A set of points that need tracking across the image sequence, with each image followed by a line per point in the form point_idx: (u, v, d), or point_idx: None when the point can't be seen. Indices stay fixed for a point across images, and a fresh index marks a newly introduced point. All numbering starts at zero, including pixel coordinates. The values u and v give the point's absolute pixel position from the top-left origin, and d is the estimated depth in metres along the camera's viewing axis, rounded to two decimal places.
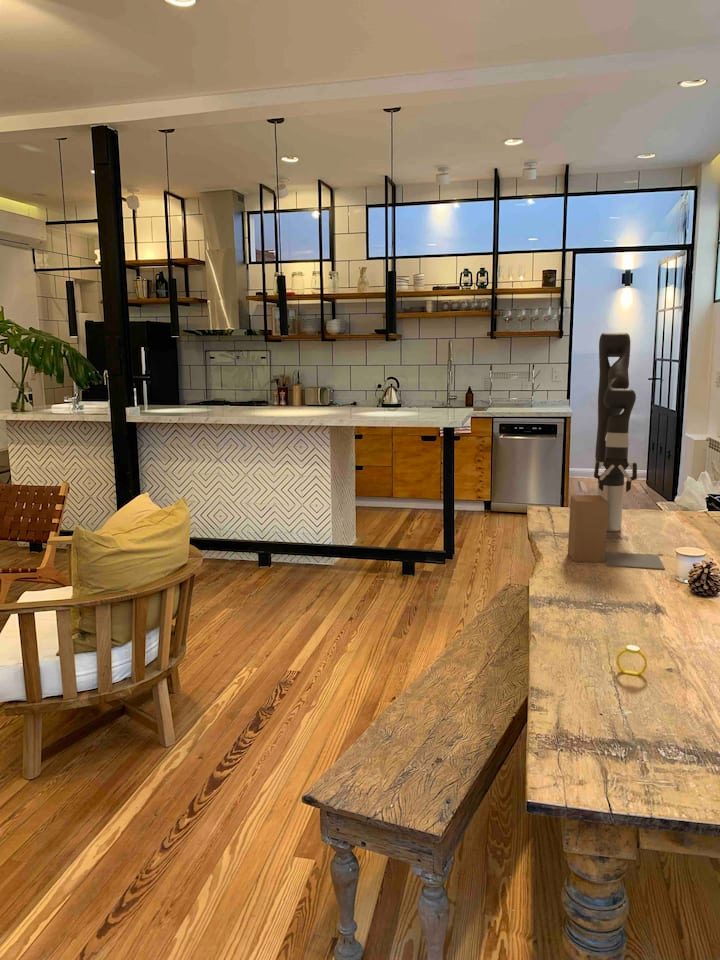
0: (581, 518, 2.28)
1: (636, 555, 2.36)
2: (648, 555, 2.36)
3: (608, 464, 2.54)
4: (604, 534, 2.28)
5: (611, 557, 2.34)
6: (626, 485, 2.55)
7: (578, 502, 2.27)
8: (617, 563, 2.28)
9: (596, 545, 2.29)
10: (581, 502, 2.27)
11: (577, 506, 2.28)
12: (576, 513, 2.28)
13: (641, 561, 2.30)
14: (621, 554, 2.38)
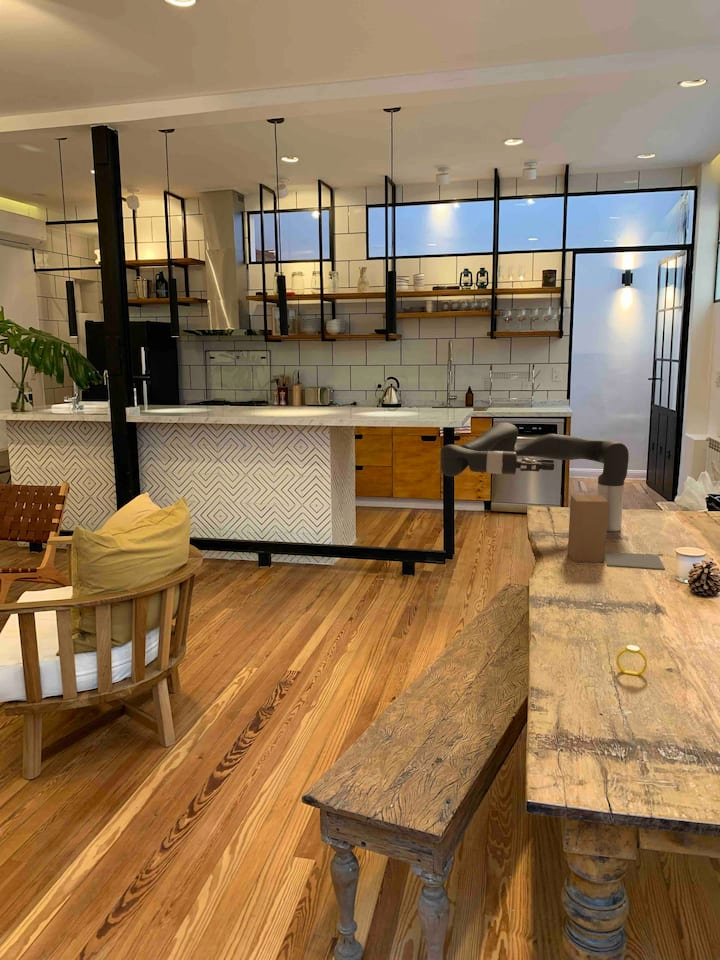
0: (581, 518, 2.28)
1: (636, 555, 2.36)
2: (648, 555, 2.36)
3: (522, 461, 2.32)
4: (604, 534, 2.28)
5: (611, 557, 2.34)
6: (546, 462, 2.36)
7: (578, 502, 2.27)
8: (617, 563, 2.28)
9: (596, 545, 2.29)
10: (581, 502, 2.27)
11: (577, 506, 2.28)
12: (576, 513, 2.28)
13: (641, 561, 2.30)
14: (621, 554, 2.38)
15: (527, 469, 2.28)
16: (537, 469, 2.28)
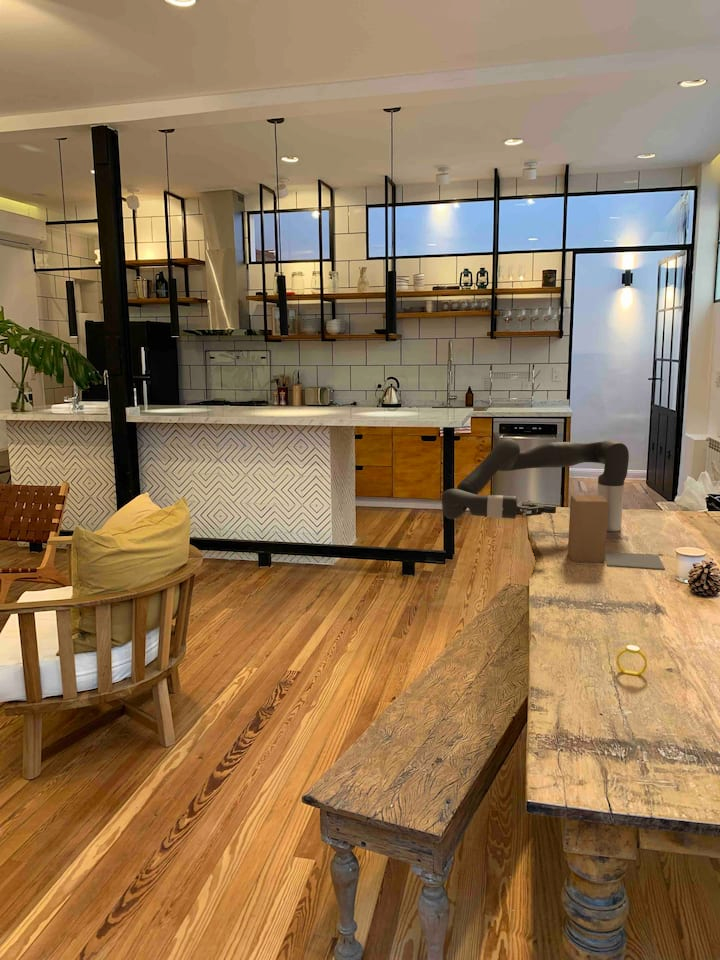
0: (581, 518, 2.28)
1: (636, 555, 2.36)
2: (648, 555, 2.36)
3: (521, 506, 2.35)
4: (604, 534, 2.28)
5: (611, 557, 2.34)
6: None
7: (578, 502, 2.27)
8: (617, 563, 2.28)
9: (596, 545, 2.29)
10: (581, 502, 2.27)
11: (577, 506, 2.28)
12: (576, 513, 2.28)
13: (641, 561, 2.30)
14: (621, 554, 2.38)
15: (532, 514, 2.32)
16: (540, 512, 2.33)
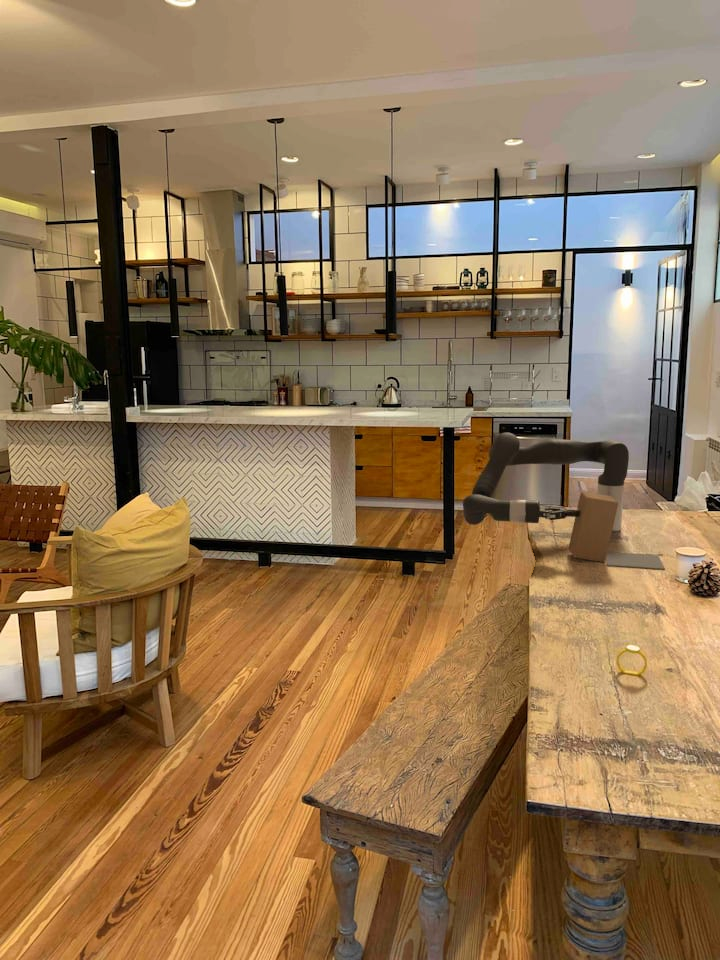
0: (589, 515, 2.28)
1: (636, 555, 2.36)
2: (648, 555, 2.36)
3: (544, 510, 2.32)
4: (609, 534, 2.28)
5: (611, 557, 2.34)
6: None
7: (588, 498, 2.27)
8: (617, 563, 2.28)
9: (599, 544, 2.29)
10: (591, 499, 2.27)
11: (587, 502, 2.27)
12: (585, 509, 2.28)
13: (641, 561, 2.30)
14: (621, 554, 2.38)
15: (556, 518, 2.29)
16: (564, 516, 2.30)
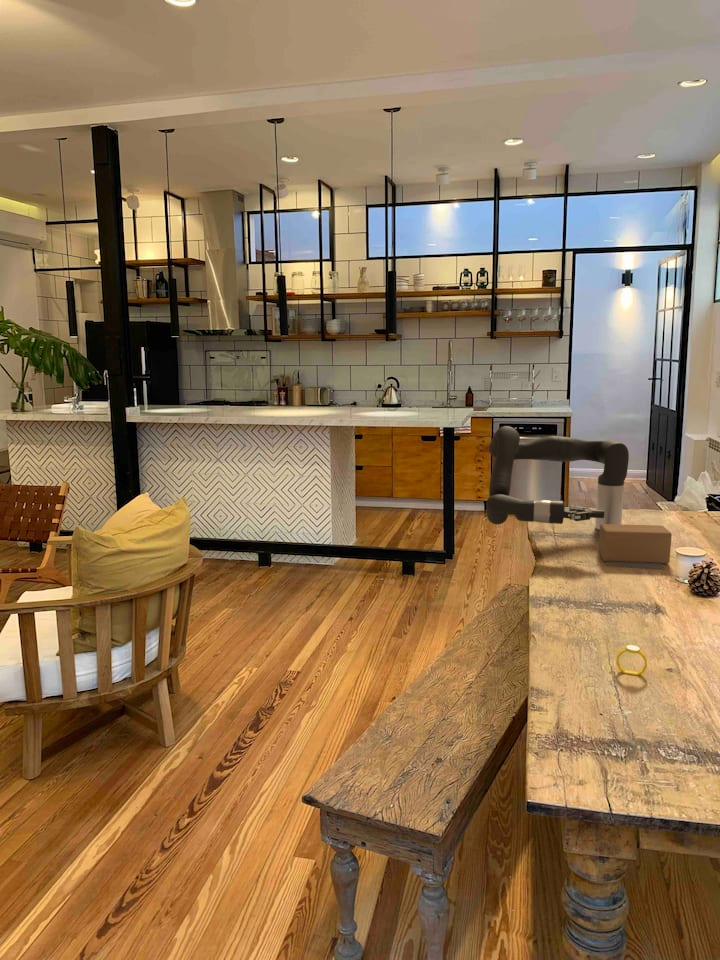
0: (652, 538, 2.27)
1: None
2: None
3: (568, 511, 2.31)
4: (634, 560, 2.29)
5: None
6: None
7: (670, 535, 2.26)
8: (617, 563, 2.28)
9: (623, 553, 2.29)
10: (670, 538, 2.26)
11: (666, 534, 2.26)
12: (658, 533, 2.26)
13: None
14: None
15: (581, 519, 2.28)
16: (589, 517, 2.30)
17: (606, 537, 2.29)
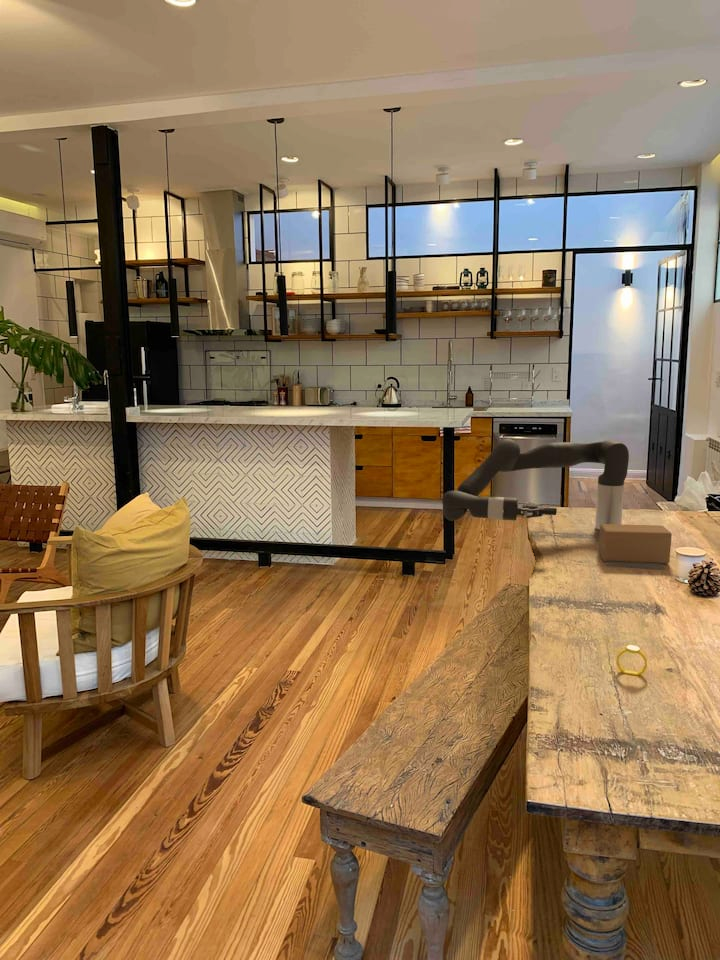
0: (652, 538, 2.27)
1: None
2: None
3: (521, 508, 2.35)
4: (634, 560, 2.29)
5: None
6: None
7: (670, 535, 2.26)
8: (617, 563, 2.28)
9: (623, 553, 2.29)
10: (670, 538, 2.26)
11: (666, 534, 2.26)
12: (658, 533, 2.26)
13: None
14: None
15: (533, 515, 2.32)
16: (541, 514, 2.33)
17: (606, 537, 2.29)
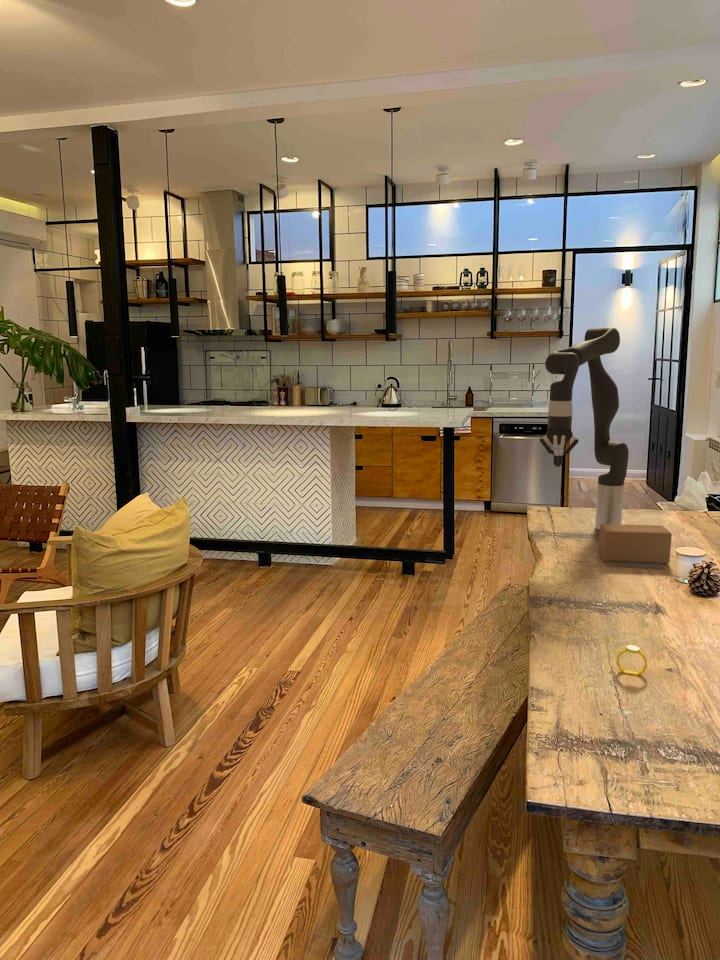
0: (652, 538, 2.27)
1: None
2: None
3: None
4: (634, 560, 2.29)
5: None
6: None
7: (670, 535, 2.26)
8: (617, 563, 2.28)
9: (623, 553, 2.29)
10: (670, 538, 2.26)
11: (666, 534, 2.26)
12: (658, 533, 2.26)
13: None
14: None
15: None
16: None
17: (606, 537, 2.29)
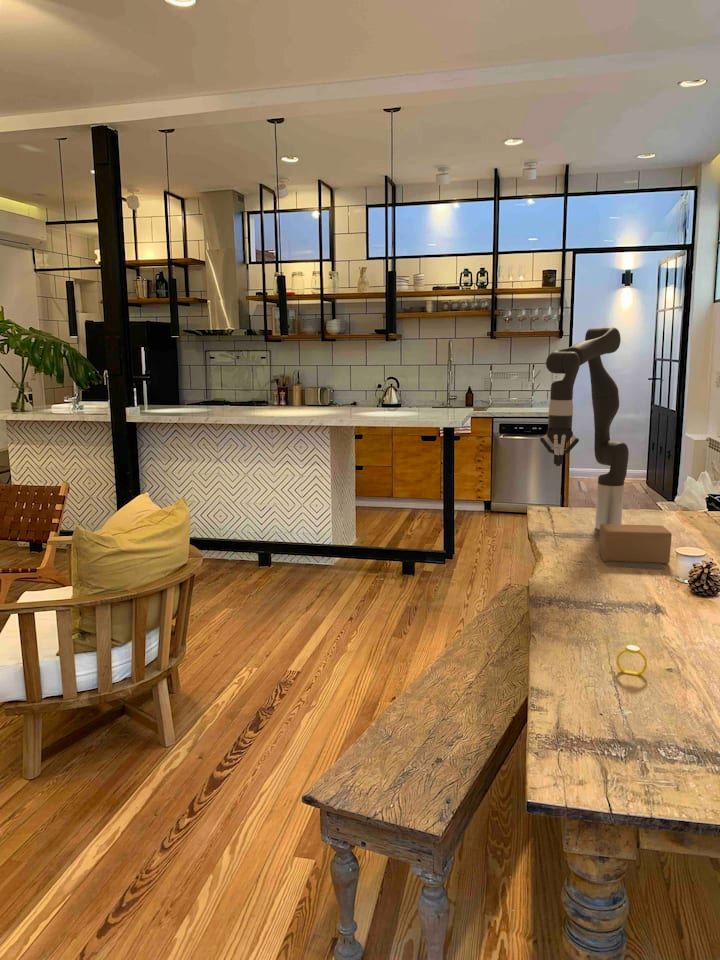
0: (652, 538, 2.27)
1: None
2: None
3: None
4: (634, 560, 2.29)
5: None
6: None
7: (670, 535, 2.26)
8: (617, 563, 2.28)
9: (623, 553, 2.29)
10: (670, 538, 2.26)
11: (666, 534, 2.26)
12: (658, 533, 2.26)
13: None
14: None
15: None
16: None
17: (606, 537, 2.29)
